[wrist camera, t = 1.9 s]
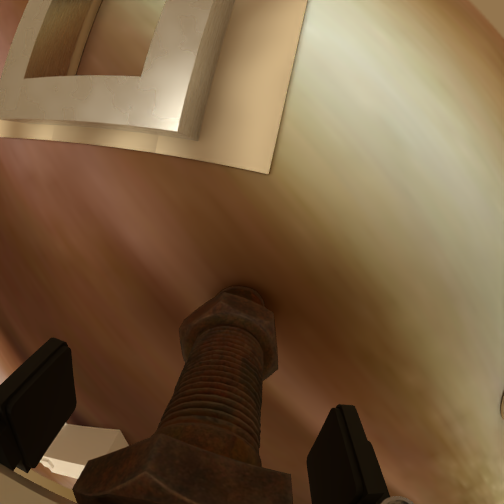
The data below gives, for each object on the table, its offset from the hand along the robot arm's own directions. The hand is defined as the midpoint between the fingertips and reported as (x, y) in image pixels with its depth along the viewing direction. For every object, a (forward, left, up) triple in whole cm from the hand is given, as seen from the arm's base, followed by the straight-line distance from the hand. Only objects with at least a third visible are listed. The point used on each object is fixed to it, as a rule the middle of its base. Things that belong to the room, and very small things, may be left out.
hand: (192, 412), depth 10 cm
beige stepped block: (+12, +17, -11) cm, 23 cm away
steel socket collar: (+9, -15, -10) cm, 20 cm away
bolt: (-1, 0, -10) cm, 10 cm away
